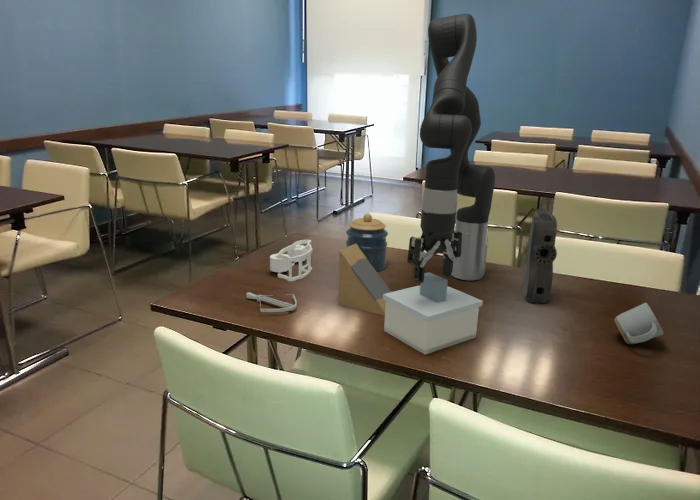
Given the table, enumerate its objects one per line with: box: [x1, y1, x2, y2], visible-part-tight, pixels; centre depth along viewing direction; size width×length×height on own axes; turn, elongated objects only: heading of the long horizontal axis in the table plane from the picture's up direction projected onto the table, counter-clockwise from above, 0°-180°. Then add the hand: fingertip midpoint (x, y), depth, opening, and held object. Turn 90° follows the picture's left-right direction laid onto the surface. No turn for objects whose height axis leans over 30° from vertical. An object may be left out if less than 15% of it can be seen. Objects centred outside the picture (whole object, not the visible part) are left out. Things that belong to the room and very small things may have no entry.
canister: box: [345, 213, 389, 273], centre depth 169 cm, size 13×13×18 cm
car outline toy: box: [269, 239, 314, 282], centre depth 167 cm, size 20×11×7 cm, turn 158°
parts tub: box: [383, 301, 480, 356], centre depth 126 cm, size 16×14×8 cm
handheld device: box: [520, 208, 558, 304], centre depth 148 cm, size 6×15×25 cm, turn 176°
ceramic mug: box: [613, 302, 664, 345], centre depth 123 cm, size 11×8×8 cm
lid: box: [383, 272, 484, 322], centre depth 124 cm, size 17×15×7 cm
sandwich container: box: [337, 244, 392, 317], centre depth 141 cm, size 9×15×15 cm, turn 59°
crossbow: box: [245, 291, 298, 313], centre depth 142 cm, size 16×13×2 cm
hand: (433, 278), depth 123 cm, fingers open, 8 cm apart
